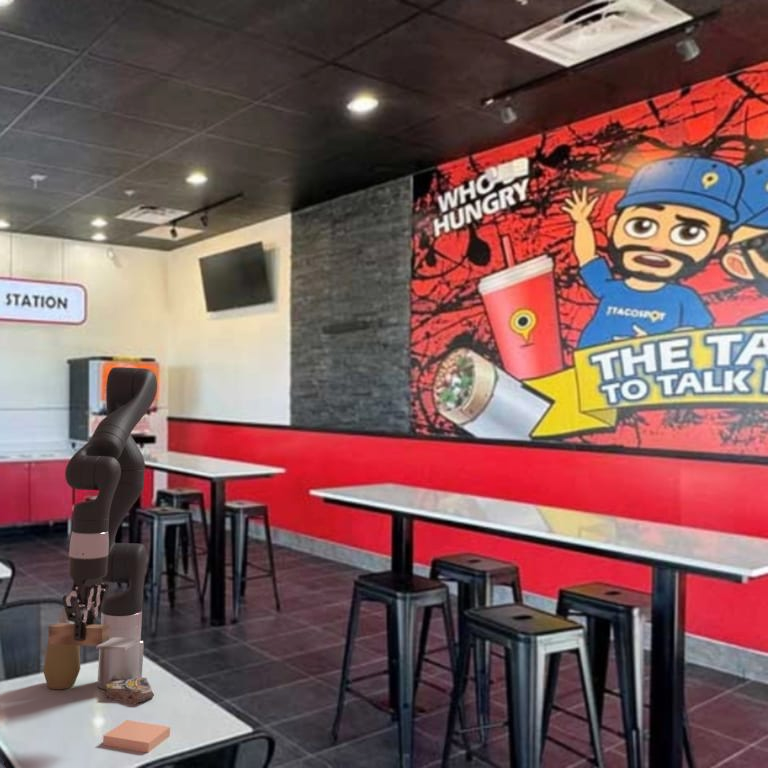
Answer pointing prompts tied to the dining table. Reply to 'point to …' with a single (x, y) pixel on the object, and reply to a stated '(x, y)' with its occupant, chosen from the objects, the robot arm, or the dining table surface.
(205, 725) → the dining table surface
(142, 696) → the ceramic tile fragment
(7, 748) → the dining table surface
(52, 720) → the dining table surface
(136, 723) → the tile
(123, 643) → the wooden bar with blade
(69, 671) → the squeeze bottle
